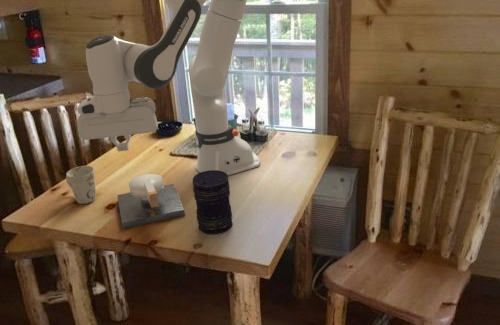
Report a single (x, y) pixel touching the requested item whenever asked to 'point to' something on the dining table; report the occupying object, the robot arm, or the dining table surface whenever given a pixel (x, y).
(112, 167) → the dining table surface
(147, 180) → the white handled oval piece
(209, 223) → the dark blue ribbed cylinder
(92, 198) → the mug
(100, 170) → the dining table surface
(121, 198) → the plate
